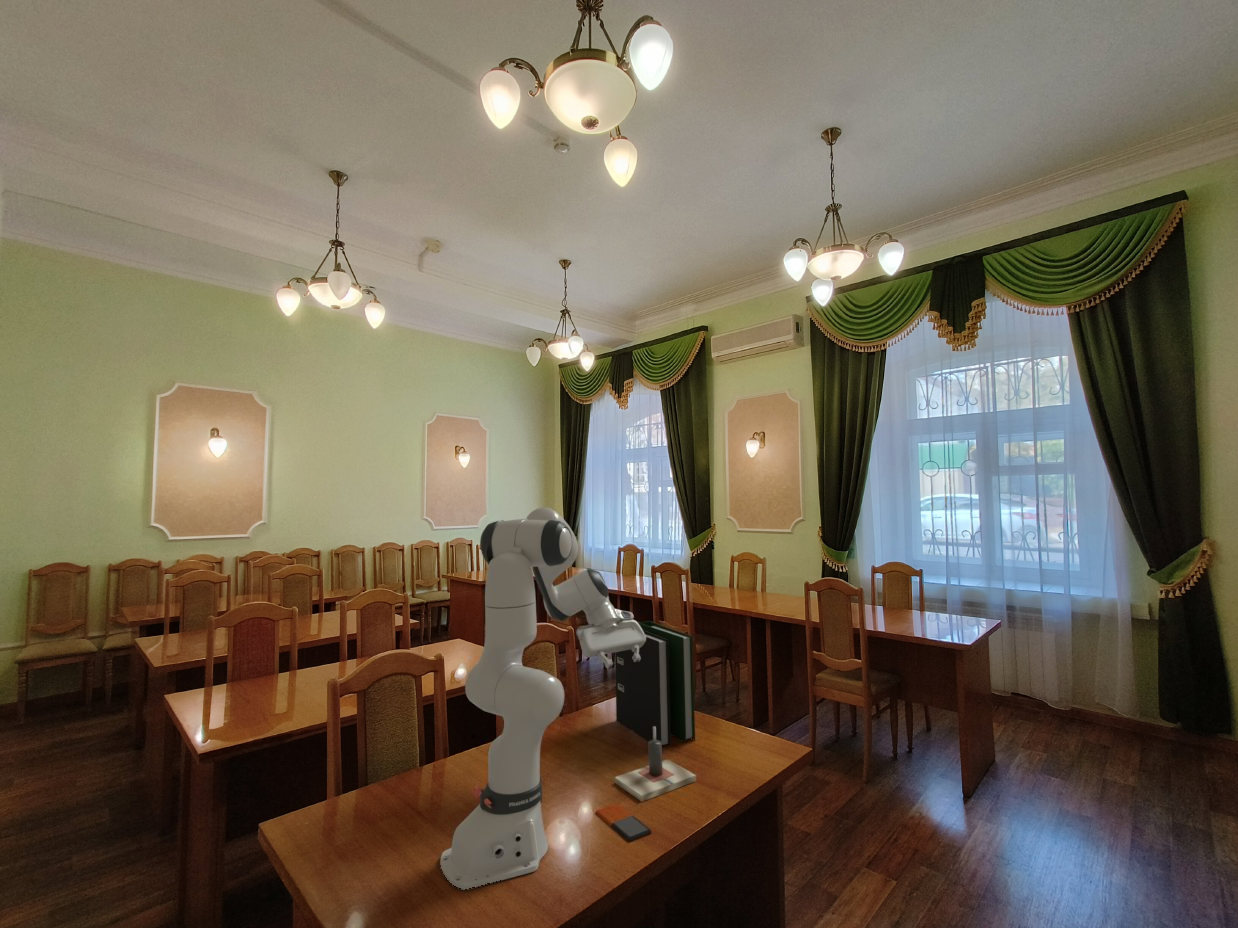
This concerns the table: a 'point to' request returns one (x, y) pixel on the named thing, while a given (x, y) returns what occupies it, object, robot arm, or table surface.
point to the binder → (657, 685)
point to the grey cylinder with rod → (655, 756)
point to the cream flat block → (654, 780)
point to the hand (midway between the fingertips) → (624, 663)
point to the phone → (623, 822)
